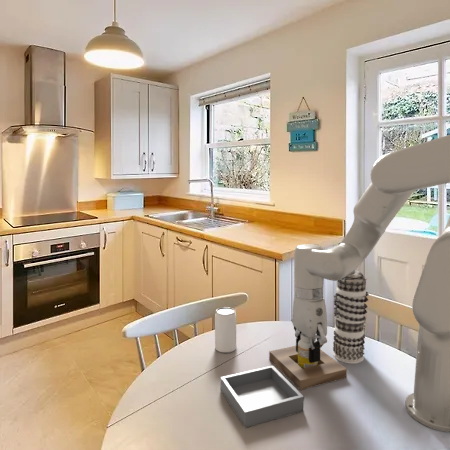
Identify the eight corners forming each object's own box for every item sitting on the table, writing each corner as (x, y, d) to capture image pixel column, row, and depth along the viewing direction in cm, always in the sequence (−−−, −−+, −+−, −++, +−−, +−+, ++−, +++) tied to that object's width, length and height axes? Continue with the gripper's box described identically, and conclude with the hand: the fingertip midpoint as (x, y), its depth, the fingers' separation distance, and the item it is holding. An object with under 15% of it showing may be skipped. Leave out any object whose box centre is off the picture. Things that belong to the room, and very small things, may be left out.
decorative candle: (370, 364, 104) (374, 277, 100) (336, 364, 104) (339, 277, 100) (359, 348, 113) (363, 267, 109) (328, 348, 113) (331, 267, 110)
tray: (303, 411, 85) (303, 396, 84) (245, 427, 79) (245, 412, 79) (272, 378, 98) (272, 365, 97) (220, 390, 93) (220, 377, 92)
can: (223, 341, 119) (222, 305, 117) (240, 347, 115) (240, 309, 113) (210, 349, 113) (210, 311, 112) (228, 355, 110) (228, 316, 108)
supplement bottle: (308, 375, 98) (309, 340, 97) (293, 366, 103) (293, 333, 101) (321, 368, 102) (322, 334, 100) (306, 360, 106) (307, 328, 104)
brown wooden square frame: (346, 377, 98) (346, 368, 97) (300, 390, 93) (300, 380, 92) (310, 350, 112) (311, 342, 112) (269, 359, 107) (269, 351, 107)
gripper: (341, 299, 92) (339, 368, 95) (302, 281, 108) (302, 340, 111) (315, 304, 90) (314, 375, 92) (279, 284, 105) (279, 345, 108)
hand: (307, 355), depth 102 cm, fingers closed on supplement bottle, 5 cm apart
